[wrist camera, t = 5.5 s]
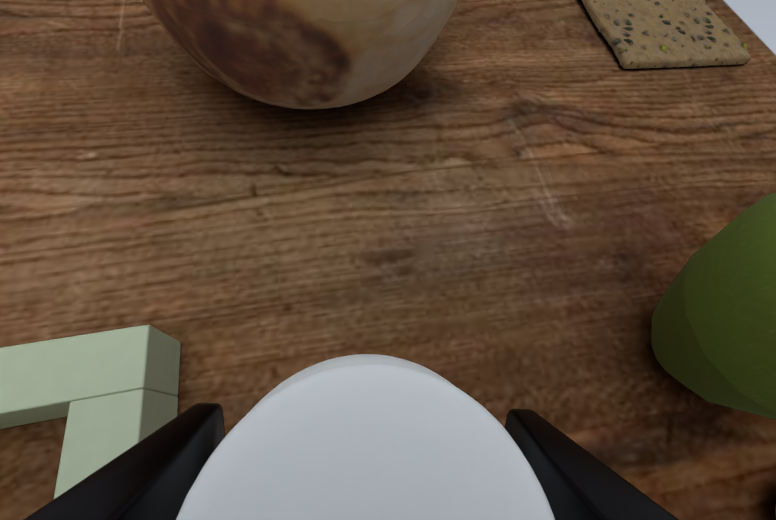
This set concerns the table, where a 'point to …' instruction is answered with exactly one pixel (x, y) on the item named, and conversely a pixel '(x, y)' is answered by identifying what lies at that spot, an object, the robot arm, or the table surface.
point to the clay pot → (305, 45)
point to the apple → (725, 316)
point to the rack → (92, 392)
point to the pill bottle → (367, 452)
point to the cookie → (666, 33)
